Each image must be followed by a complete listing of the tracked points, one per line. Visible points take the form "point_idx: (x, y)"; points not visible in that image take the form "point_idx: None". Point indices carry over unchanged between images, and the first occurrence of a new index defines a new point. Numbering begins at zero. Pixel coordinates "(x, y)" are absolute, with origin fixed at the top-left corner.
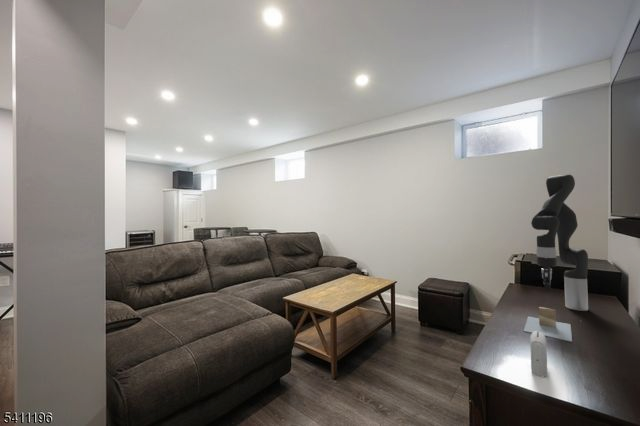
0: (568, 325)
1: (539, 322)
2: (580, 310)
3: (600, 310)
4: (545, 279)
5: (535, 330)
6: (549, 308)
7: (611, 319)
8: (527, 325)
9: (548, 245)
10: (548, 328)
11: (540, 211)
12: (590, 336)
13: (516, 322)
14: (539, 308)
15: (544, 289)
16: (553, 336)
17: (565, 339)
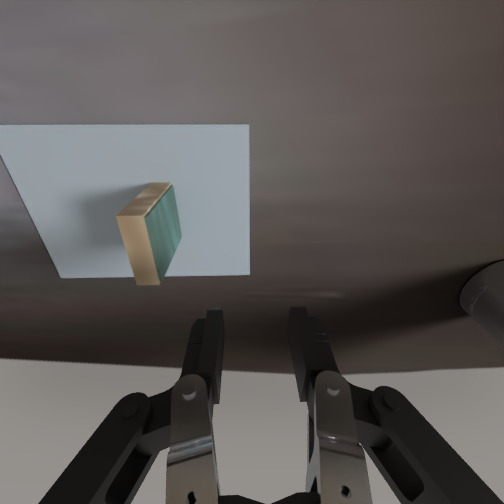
0: (230, 269)
1: (148, 186)
2: (460, 297)
3: (485, 336)
4: (370, 399)
5: (47, 173)
6: (153, 262)
7: (388, 350)
8: (85, 135)
9: None
10: None
11: None
12: (172, 311)
13: (100, 71)
14: (118, 217)
15: (206, 318)
16: (47, 233)
17: (57, 263)
